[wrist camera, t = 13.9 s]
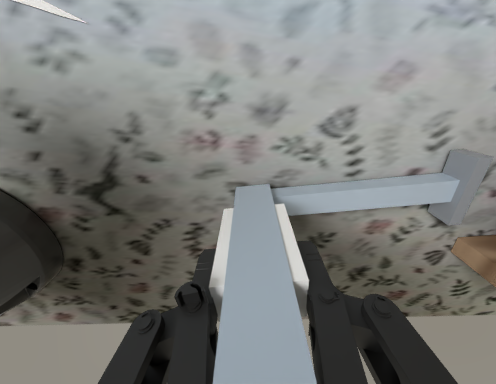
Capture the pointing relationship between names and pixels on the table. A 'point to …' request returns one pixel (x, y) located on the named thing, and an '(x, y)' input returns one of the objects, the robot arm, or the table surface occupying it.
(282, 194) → the push tool
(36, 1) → the scissors
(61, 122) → the table surface
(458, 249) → the wooden arch block
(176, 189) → the table surface
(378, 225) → the table surface
